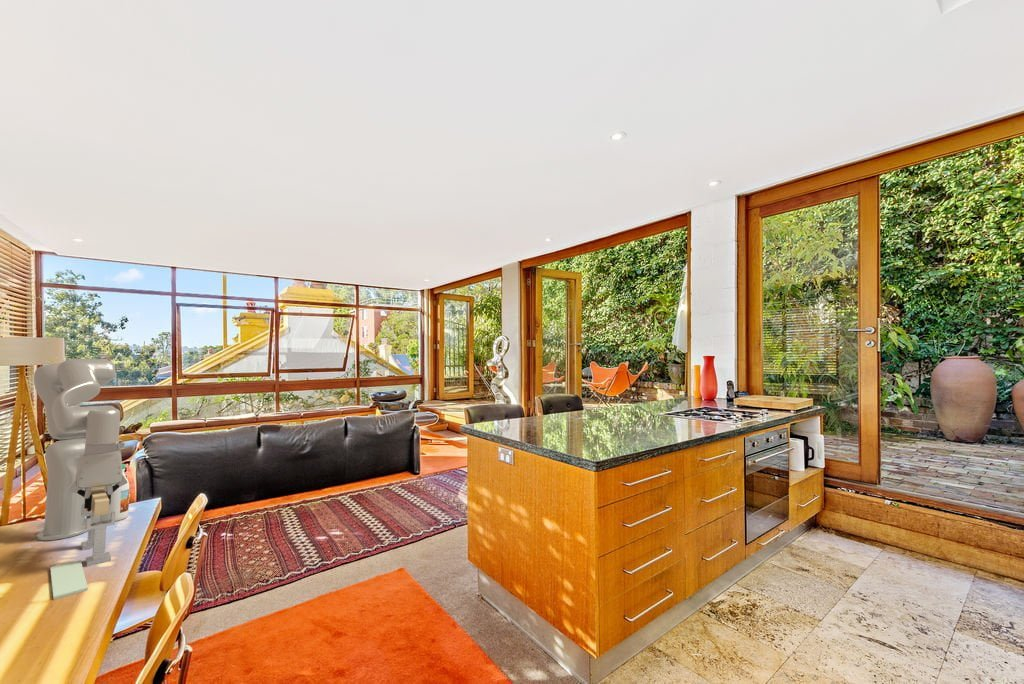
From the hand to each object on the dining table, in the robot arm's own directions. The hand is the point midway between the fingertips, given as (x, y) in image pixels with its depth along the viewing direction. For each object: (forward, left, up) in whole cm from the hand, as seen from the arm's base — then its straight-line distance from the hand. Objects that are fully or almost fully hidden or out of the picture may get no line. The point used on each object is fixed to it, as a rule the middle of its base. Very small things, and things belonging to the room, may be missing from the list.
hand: (97, 508), depth 132 cm
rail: (0, 0, +1) cm, 1 cm away
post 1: (-7, 0, -13) cm, 15 cm away
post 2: (+9, 0, -13) cm, 16 cm away
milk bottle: (-33, +8, -13) cm, 37 cm away
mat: (+18, -6, -13) cm, 23 cm away
